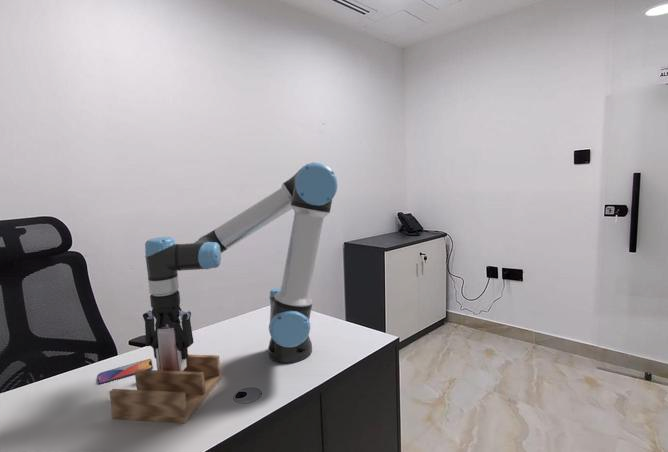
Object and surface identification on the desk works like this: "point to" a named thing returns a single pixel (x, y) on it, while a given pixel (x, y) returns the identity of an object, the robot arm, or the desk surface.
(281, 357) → the robot arm
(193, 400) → the rack
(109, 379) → the smartphone
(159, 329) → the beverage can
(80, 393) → the desk surface
